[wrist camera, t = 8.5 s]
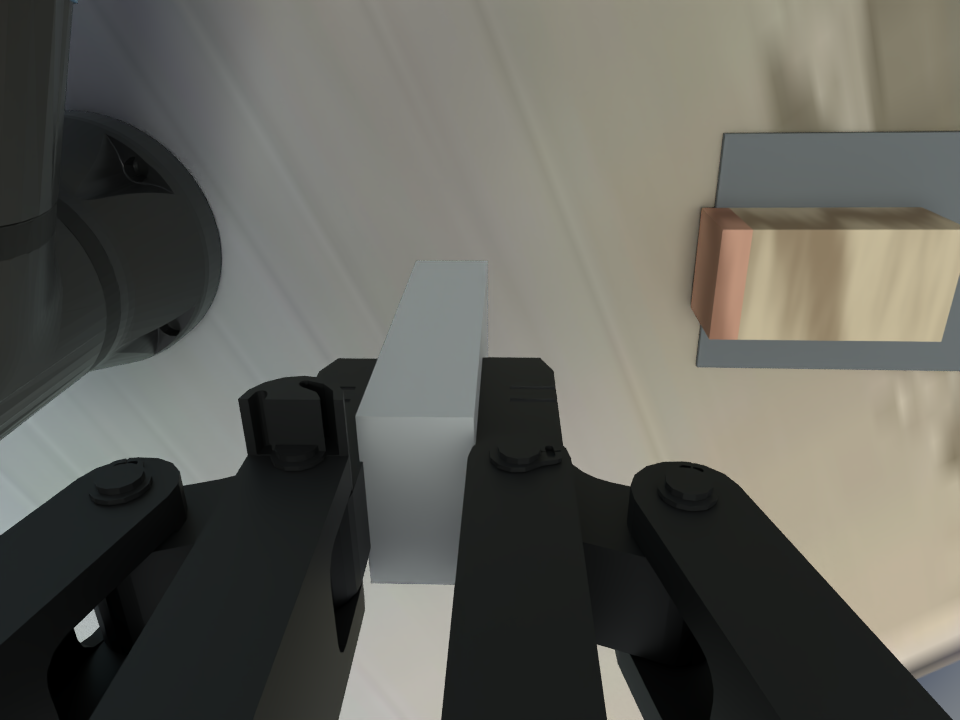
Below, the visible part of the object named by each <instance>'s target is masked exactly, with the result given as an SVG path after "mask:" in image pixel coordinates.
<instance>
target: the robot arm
mask: <svg viewBox="0 0 960 720" xmlns="http://www.w3.org/2000/svg"><path fill="white" fill-rule="evenodd" d="M73 3H77V4H78V0H0V440H2V439H3V438H4V437H5V436H7V435H8V434H9V433H10V432H12V431H13V430H14V429H16V428H17V427H18V426H19V425H21V424H22V423H23V422H25V421H26V420H27V419H28V418H30V417H31V416H32V415H33V414H35V413H36V412H37V411H39V410H40V409H41V408H42V407H44V406H45V405H46V404H48V403H49V402H50V401H52V400H53V399H54V398H55V397H57V396H58V395H59V394H61V393H62V392H63V391H65V390H66V389H67V388H69V387H70V386H71V385H72V384H74V383H75V382H76V381H78V380H79V379H80V378H81V377H82V376H84V375H85V374H86V373H88V372H89V371H94V370H99V369H103V368H108V367H113V366H118V365H122V364H127V363H132V362H136V361H140V360H144V359H147V358H149V357H152V356H154V355H156V354H158V353H160V352H162V351H164V350H166V349H168V348H169V347H171V346H172V345H174V344H175V343H176V342H177V341H179V340H180V339H181V338H182V337H183V336H185V335H186V334H187V333H188V332H189V331H190V330H192V329H193V328H194V327H195V326H196V325H197V324H198V323H199V321H200V320H201V319H202V318H203V317H204V315H205V314H206V312H207V311H208V309H209V307H210V306H211V303H212V301H213V299H214V297H215V294H216V291H217V288H218V284H219V279H220V272H221V248H220V240H219V235H218V231H217V227H216V223H215V220H214V217H213V215H212V212H211V210H210V207H209V205H208V203H207V201H206V199H205V197H204V195H203V193H202V192H201V190H200V188H199V187H198V185H197V184H196V182H195V181H194V179H193V178H192V176H191V175H190V174H189V173H188V171H187V170H186V169H185V168H184V166H183V165H182V164H181V163H180V162H179V161H178V160H177V159H176V158H175V157H174V156H173V155H172V154H171V153H170V152H169V151H168V150H167V149H165V148H164V147H163V146H162V145H161V144H159V143H158V142H157V141H155V140H154V139H153V138H151V137H150V136H148V135H147V134H145V133H143V132H142V131H140V130H138V129H137V128H135V127H133V126H131V125H129V124H127V123H124V122H122V121H119V120H117V119H114V118H111V117H108V116H104V115H101V114H96V113H91V112H83V111H65V99H66V86H67V73H68V61H69V48H70V35H71V23H72V10H73ZM238 401H239V407H240V412H241V418H242V424H243V430H244V436H245V441H246V447H247V453H248V456H247V458H246V459H245V461H244V463H243V464H242V466H241V468H240V469H239V471H238V472H237V474H236V475H235V476H232V477H228V478H223V479H219V480H214V481H208V482H202V483H197V484H191V485H185V486H183V484H182V480H181V475H180V471H179V470H178V469H177V468H176V467H175V466H174V464H173V463H171V462H168V461H165V460H162V459H159V458H139V457H137V458H129V459H127V460H126V459H122V460H117V461H114V462H112V463H110V464H108V465H105V466H102V467H99V468H96V469H94V470H92V471H91V472H89V473H87V474H85V475H84V476H82V477H80V478H78V479H77V480H76V481H74V482H73V483H71V484H70V485H69V486H67V487H66V488H65V489H63V490H62V491H60V492H59V493H58V494H56V495H55V496H54V497H52V498H51V499H50V500H48V501H47V502H45V503H44V504H43V505H41V506H40V507H39V508H37V509H36V510H35V511H33V512H32V513H30V514H29V515H28V516H26V517H25V518H24V519H22V520H21V521H19V522H18V523H17V524H15V525H14V526H13V527H11V528H10V529H9V530H7V531H6V532H4V533H3V534H2V535H0V720H338V719H339V715H340V711H341V707H342V703H343V698H344V694H345V690H346V686H347V682H348V678H349V674H350V670H351V665H352V661H353V657H354V653H355V649H356V645H357V641H358V636H359V632H360V628H361V624H362V620H363V616H364V612H365V602H364V589H363V576H364V572H365V568H366V565H367V561H368V557H369V565H370V576H371V583H392V584H443V585H455V588H454V598H453V608H452V618H451V628H450V638H449V648H448V658H447V668H446V678H445V688H444V698H443V708H442V718H441V720H607V716H606V709H605V702H604V695H603V687H602V680H601V673H600V666H599V658H598V651H597V644H598V645H601V646H605V647H608V648H611V649H615V653H616V657H617V662H618V665H619V667H620V669H621V672H622V674H623V676H624V678H625V680H626V682H627V684H628V687H629V689H630V691H631V693H632V695H633V697H634V699H635V701H636V704H637V706H638V708H639V710H640V712H641V714H642V716H643V719H644V720H952V718H950V716H949V715H948V714H947V713H946V712H945V711H944V710H943V709H942V708H941V706H940V705H939V704H938V703H937V702H936V701H935V700H934V699H933V698H932V697H931V695H930V694H929V693H928V692H927V691H926V690H925V689H924V688H923V687H922V686H921V684H920V683H919V682H918V681H917V680H916V679H915V678H914V677H913V676H912V675H911V673H910V672H909V671H908V670H907V669H906V668H905V667H904V666H903V665H902V664H901V663H900V661H899V660H898V659H897V658H896V657H895V656H894V655H893V654H892V653H891V652H890V650H889V649H888V648H887V647H886V646H885V645H884V644H883V643H882V642H881V641H880V640H879V638H878V637H877V636H876V635H875V634H874V633H873V632H872V631H871V630H870V629H869V627H868V626H867V625H866V624H865V623H864V622H863V621H862V620H861V619H860V618H859V617H858V615H857V614H856V613H855V612H854V611H853V610H852V609H851V608H850V607H849V606H848V604H847V603H846V602H845V601H844V600H843V599H842V598H841V597H840V596H839V595H838V593H837V592H836V591H835V590H834V589H833V588H832V587H831V586H830V585H829V584H828V583H827V581H826V580H825V579H824V578H823V577H822V576H821V575H820V574H819V573H818V572H817V570H816V569H815V568H814V567H813V566H812V565H811V564H810V563H809V562H808V561H807V560H806V558H805V557H804V556H803V555H802V554H801V553H800V552H799V551H798V550H797V549H796V547H795V546H794V545H793V544H792V543H791V542H790V541H789V540H788V539H787V538H786V536H785V535H784V534H783V533H782V532H781V531H780V530H779V529H778V528H777V527H776V526H775V524H774V523H773V522H772V521H771V520H770V519H769V518H768V517H767V516H766V515H765V513H764V512H763V511H762V510H761V509H760V508H759V507H758V506H757V505H756V504H755V503H754V501H753V500H752V499H751V498H750V497H749V496H748V495H747V494H746V493H745V492H744V490H743V489H742V488H741V487H740V486H739V485H738V484H736V483H735V482H734V481H733V480H731V479H730V478H729V477H727V476H726V475H725V474H723V473H721V472H718V471H716V470H714V469H711V468H709V467H707V466H704V465H700V464H696V463H694V464H693V463H691V462H682V461H681V462H661V463H657V464H654V465H650V466H646V467H645V468H643V469H642V470H641V471H639V472H638V473H637V474H635V475H634V478H633V481H632V483H631V486H625V485H621V484H616V483H611V482H608V481H604V480H601V479H597V478H595V477H593V476H590V475H588V474H586V473H584V472H582V471H581V470H579V469H578V468H577V467H575V466H574V465H573V464H572V462H571V458H570V456H569V454H568V452H567V450H566V448H565V447H564V446H563V441H562V434H561V426H560V418H559V410H558V403H557V395H556V389H555V379H554V371H553V370H552V369H551V368H550V367H549V366H548V365H547V364H546V363H545V362H544V361H543V360H541V359H540V358H495V357H488V261H416V263H415V265H414V268H413V270H412V273H411V275H410V278H409V281H408V283H407V286H406V288H405V291H404V293H403V296H402V298H401V301H400V304H399V306H398V309H397V311H396V314H395V316H394V319H393V321H392V324H391V327H390V329H389V332H388V334H387V337H386V339H385V342H384V344H383V347H382V349H381V352H380V355H379V357H378V359H345V358H338V359H337V360H335V361H334V362H332V363H331V364H330V365H328V366H327V367H325V368H324V369H322V370H321V371H319V373H318V375H317V377H309V376H297V377H285V378H280V379H276V380H272V381H268V382H265V383H262V384H260V385H258V386H256V387H254V388H252V389H249V390H248V391H247V392H246V393H245V394H243V395H242V396H241V397H240V398H239V399H238ZM93 609H94V610H95V613H96V617H97V620H98V623H99V626H100V627H99V628H98V629H97V630H96V631H95V632H94V633H93V634H92V635H91V636H90V637H88V638H87V639H86V640H84V641H83V642H81V643H80V642H79V641H78V640H77V637H76V634H75V631H74V627H75V626H76V625H77V624H78V623H79V622H81V621H82V620H83V619H84V618H85V617H86V616H87V615H88V614H89V613H90V612H91V611H92V610H93Z"/></svg>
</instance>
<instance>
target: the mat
mask: <svg viewBox="0 0 960 720" xmlns="http://www.w3.org/2000/svg"><path fill="white" fill-rule="evenodd" d="M838 207H922V208H925V209H927V210H929V211H931V212H933V213H936V214H938V215H940V216H942V217H945V218H947V219H949V220H951V221H954V222H956V223H958V224H960V131H930V132H806V133H724V134H723V142H722V150H721V159H720V167H719V175H718V184H717V192H716V200H715V208H838ZM696 366H697V367H720V368H788V369H855V370H923V371H960V275H959V278H958V282H957V286H956V289H955V293H954V297H953V300H952V304H951V308H950V311H949V315H948V319H947V323H946V326H945V330H944V334H943V337H942V341H941V342H916V341H818V340H720V339H709V338H708V337H707V335H706V333H705V331H704V329H703V328H702V326H701V325H700V334H699V342H698V350H697V359H696Z"/></svg>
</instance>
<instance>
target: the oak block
mask: <svg viewBox="0 0 960 720" xmlns="http://www.w3.org/2000/svg"><path fill="white" fill-rule="evenodd" d="M959 275H960V224H958V223H956V222H954V221H951V220H949V219H947V218H945V217H942V216H940V215H938V214H936V213H933V212H931V211H929V210H927V209H925V208H922V207H838V208H702V211H701V220H700V229H699V238H698V247H697V256H696V265H695V274H694V283H693V292H692V301H691V308H692V310H693V312H694V314H695V315H696V317H697V319H698V321H699V322H700V324H701V326H702V328H703V329H704V331H705V333H706V335H707V337H708V338H709V339H720V340H818V341H916V342H941V341H942V337H943V334H944V330H945V326H946V323H947V319H948V315H949V311H950V308H951V304H952V300H953V297H954V293H955V289H956V286H957V282H958V278H959Z"/></svg>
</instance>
